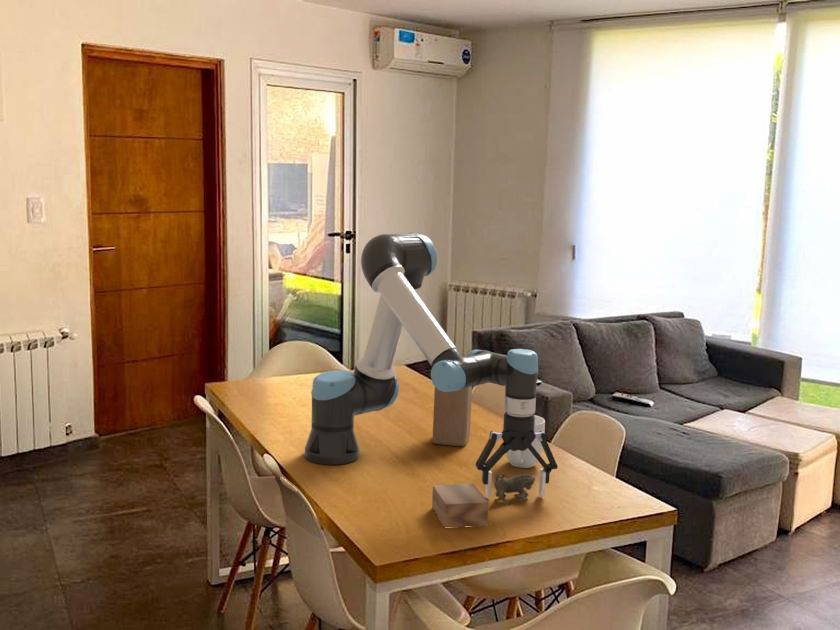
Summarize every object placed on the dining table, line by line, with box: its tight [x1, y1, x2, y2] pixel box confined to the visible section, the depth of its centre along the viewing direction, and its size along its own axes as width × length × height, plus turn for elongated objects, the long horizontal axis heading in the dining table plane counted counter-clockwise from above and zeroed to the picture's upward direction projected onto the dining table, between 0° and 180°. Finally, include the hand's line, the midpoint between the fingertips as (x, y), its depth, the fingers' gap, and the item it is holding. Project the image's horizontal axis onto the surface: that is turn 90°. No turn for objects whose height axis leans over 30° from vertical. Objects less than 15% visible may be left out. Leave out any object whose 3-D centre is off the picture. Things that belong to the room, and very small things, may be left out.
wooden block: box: [431, 386, 473, 447], centre depth 255 cm, size 10×10×20 cm
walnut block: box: [431, 483, 490, 528], centre depth 199 cm, size 10×12×6 cm
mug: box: [505, 414, 546, 469], centre depth 235 cm, size 15×11×13 cm
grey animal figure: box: [494, 472, 536, 506], centre depth 212 cm, size 12×6×7 cm, turn 118°
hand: (514, 496), depth 212 cm, fingers open, 13 cm apart
